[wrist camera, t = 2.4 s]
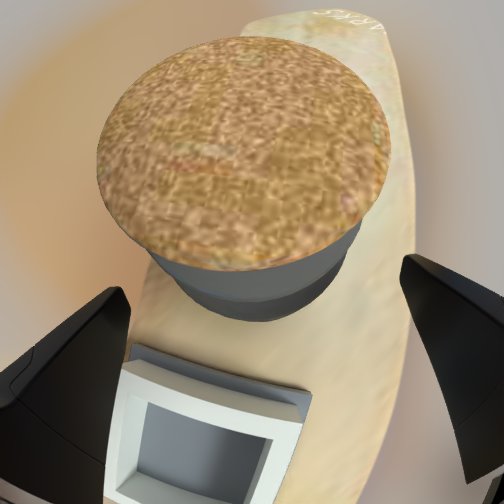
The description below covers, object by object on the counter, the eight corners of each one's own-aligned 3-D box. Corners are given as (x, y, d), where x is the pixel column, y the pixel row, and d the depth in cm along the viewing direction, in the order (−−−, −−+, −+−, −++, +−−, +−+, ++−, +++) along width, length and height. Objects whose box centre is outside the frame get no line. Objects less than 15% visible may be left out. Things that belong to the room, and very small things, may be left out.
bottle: (322, 259, 18) (442, 88, 4) (279, 338, 17) (327, 409, 3) (245, 219, 19) (198, 10, 5) (201, 293, 18) (20, 198, 4)
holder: (262, 519, 13) (260, 554, 9) (117, 471, 15) (89, 494, 10) (310, 391, 16) (322, 412, 12) (138, 343, 18) (104, 346, 13)
